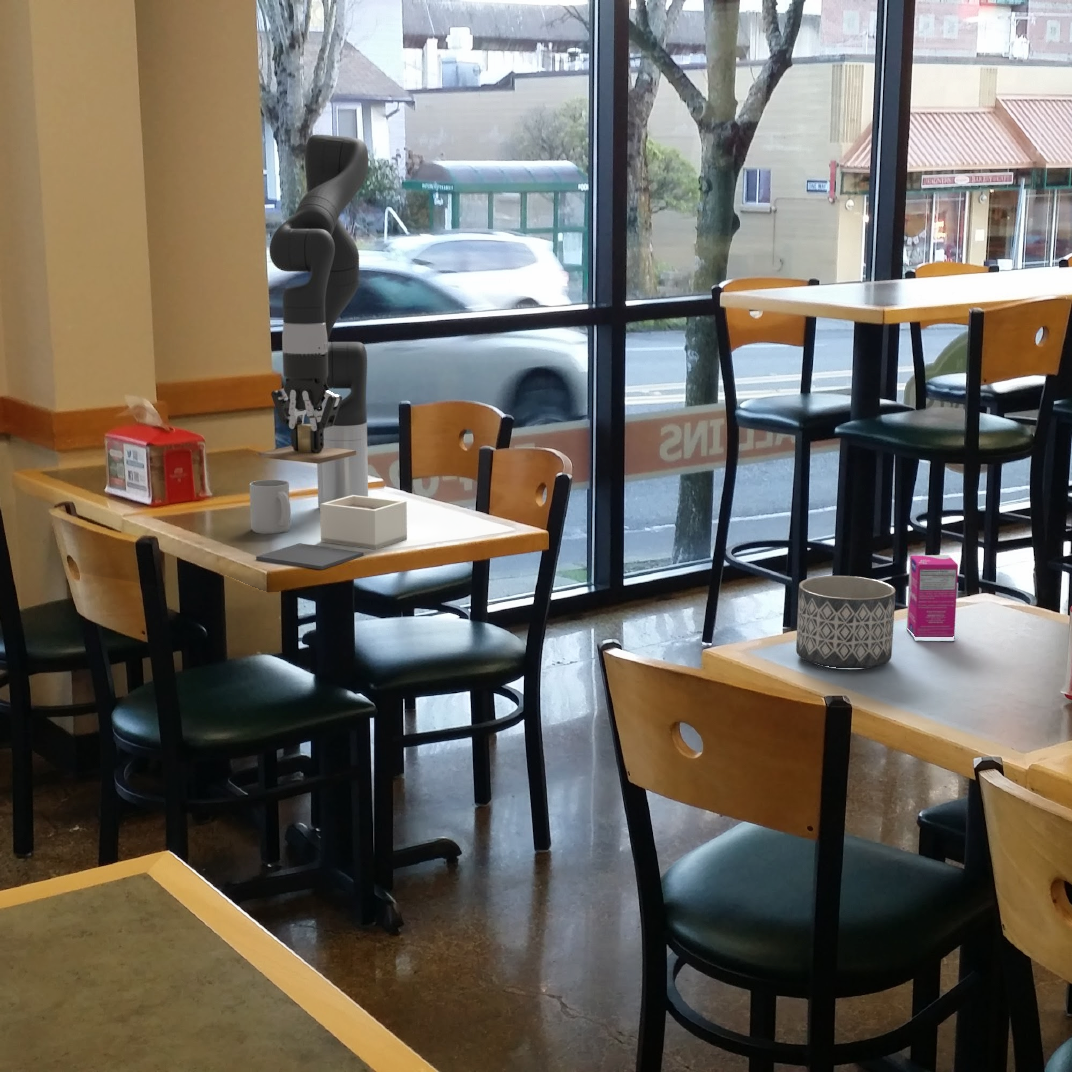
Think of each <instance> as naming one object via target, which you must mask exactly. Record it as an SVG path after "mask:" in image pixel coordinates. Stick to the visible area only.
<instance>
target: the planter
mask: <svg viewBox="0 0 1072 1072" xmlns="http://www.w3.org/2000/svg"><path fill="white" fill-rule="evenodd" d="M895 602H896V588H895V586H894V585H891V584H890V583H887V582H884V581H881V580H877V579H875V578H874V579H873V578H867V577H862V576H852V575H851V576H850V575H823V576H816V577H810V578H807V579H804V580H802V581H800V582H799V584H798V601H797V603H798V604H797V619H796V620H797V623H796V644H795V645H796V647H795V648H796V650H795V651H796V654H797V655H798V656H799V658H801V659H802V660H805V661H807V662H810V663H812V664H815V665H818V664H819V665H818V666H820V665H823V666H829V667H836V668H866V669H869V668H875V667H880V666H882V665H885V664H887V663H888V662H890V660H891V659H892V656H893V654H892V653H893V640H894V639H893V636H894V624H895V623H894V621H895V607H896V606H895V605H896V604H895ZM823 666H822V667H823Z"/></svg>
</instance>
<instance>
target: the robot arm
mask: <svg viewBox="0 0 1072 1072" xmlns="http://www.w3.org/2000/svg"><path fill="white" fill-rule="evenodd" d="M367 146H368V145H367V144H366V143H365V141H363V139H359V138H356V137H349V136H340V135H339V136H337V135H331V134H330V135H329V134H312V135H311V136H310V137H309V138H308V139H307V141H306V145H305V150H304V151H305V152H304V168H305V181H306V194H305V195H304V196H303V197H302V199H301V200H300V202H299V204H298V207H297V209H296V211H295V213H294V214H293V215H292V216H291V217H289V218H288V219H287V220H286V221H285V222H283V223H282V224H280V225H279V226H278V228H277V229H276V231H274V233H273V235H272V238H271V241H270V244H269V257H270V261H271V262H272V264H273V266H275V267H276V268H277V269H279V270H280V271H282V272H287V273H288V272H292V273H293V272H294V273H295V272H301V273H303V272H304V273H310V278H309V280H308V281H307V282H306V283H303V284H299V285H294V286H291V287H288V288H286V289H284V291H283V293H282V321H283V322H282V323H283V325H282V335H281V339H282V340H281V341H282V342H281V343H282V345H281V346H282V372H283V373H282V375H283V377H284V378H285V381H284V384H283V388H281V389H278V390H273V391H271V394H270V397H271V398H272V402H273V405H274V407H275V409H276V412H277V415H278V418H279V422H280V424H281V425H286V426H288V428H289V429H290V444H291V445H290V446H292V447H293V449H294V451H298V427H297V425H300V424H305V422H304V421H305V416H307V418H309V424H311V429H312V430H313V431H310V434H311V452H313V453H317V452H321V451H322V449H323V447H328V448H338V449H348V450H356V455H354V456H350V457H345V458H341V459H337V460H333V461H328V462H324V463H320V464H316V468H317V471H316V472H317V475H316V476H317V505H318V506H317V507H318V508H320V504H322V503H325V502H329V501H333V500H336V499H340V498H344V497H347V496H351V495H357V496H365V497H369V471H368V470H369V469H368V468H369V467H368V466H369V465H368V425H367V424H368V423H367V422H368V416H367V414H368V413H367V380H368V379H367V378H368V376H367V375H368V355H367V350H366V349H367V348H366V347H365V344H363V343H362V342H360V341H332V342H331V341H329V340H330V336H331V333H332V330H333V328H334V326H335V324H336V322H337V320H338V318H339V317H340V315H342V313H343V311H344V310H345V309H346V308H347V306H348V305H349V303H350V302H351V301H352V299H353V297H354V296H355V294H356V292H357V290H358V289H359V285H360V284H359V283H360V254H359V253H360V252H359V249H358V247H357V244H356V242H355V240H354V239H353V238H352V236H351V234H350V233H349V231H348V229H347V228H346V227H345V225H344V224H343V222H342V221H341V220H340V216H341V214H342V212H343V211H344V210H345V208H346V207H347V206H348V205H349V204H350V202H352V200H353V199H354V198H355V196H356V195H357V194H358V192H359V191H360V189H362V187H363V184H364V183H365V181H366V179H367V175H368V169H369V152H368V151H369V150H368V147H367ZM331 389H332V390H333V389H335V390H338V389H341V390H343V389H345V390H346V389H349V390H350V393H349V394H348V395H346V397H344V398H343V396H342V395H341V394H340V393H339V394H335V393H333V392H331ZM324 404H325V405H324Z"/></svg>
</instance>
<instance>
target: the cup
mask: <svg viewBox="0 0 1072 1072" xmlns="http://www.w3.org/2000/svg"><path fill="white" fill-rule="evenodd" d="M249 502H250V503H249V505H250V509H249V510H250V511H249V512H250V528H251V530H252V532H254V533H256V534H262V535H264V534H265V535H269V534H270V535H272V534H273V535H275V534H283V533H286V532H288V531H289V530H290V528H291V521H290V520H291V514H292V513H291V511H292V510H291V501H290V482H289V481H286V480H284V479H283V480H282V479H281V480H280V479H261V480H255V481H251V482H250V483H249Z"/></svg>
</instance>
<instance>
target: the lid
mask: <svg viewBox="0 0 1072 1072" xmlns="http://www.w3.org/2000/svg"><path fill="white" fill-rule="evenodd" d="M297 427H298V451H294V449H293V447H292V445H289V446H283V447H279V448H273V449H270V450H265V451H260V452H258V458H262V459H269V460H270V459H272V460H280V461H290V462H299V463H307V464H308V463H309V464H316V465H317V464H320V463H324V462H328V461H333V460H337V459H341V458H345V457H350V456H354V455H356V450H348V449H338V448H328V447H323V449H322V451H321V452H317V453H313V452H311V434H310V431H313V430H312V429H311V424H310V423H303V424H300V425H297Z"/></svg>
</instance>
